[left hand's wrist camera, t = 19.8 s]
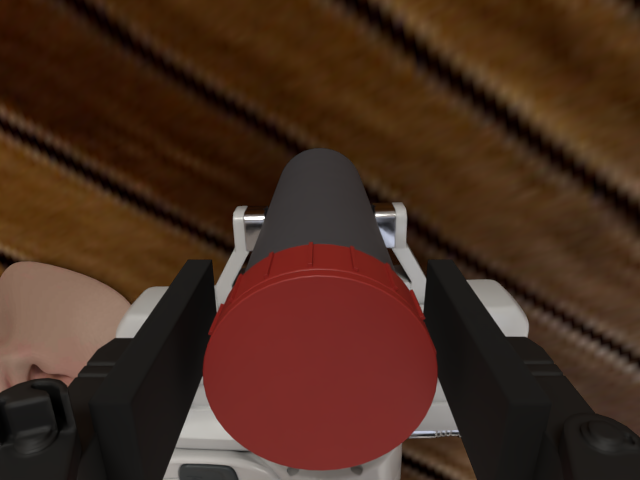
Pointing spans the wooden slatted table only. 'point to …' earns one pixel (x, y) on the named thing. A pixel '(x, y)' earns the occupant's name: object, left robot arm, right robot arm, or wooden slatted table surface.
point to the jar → (320, 208)
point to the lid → (320, 359)
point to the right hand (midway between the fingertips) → (318, 207)
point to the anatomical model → (53, 322)
